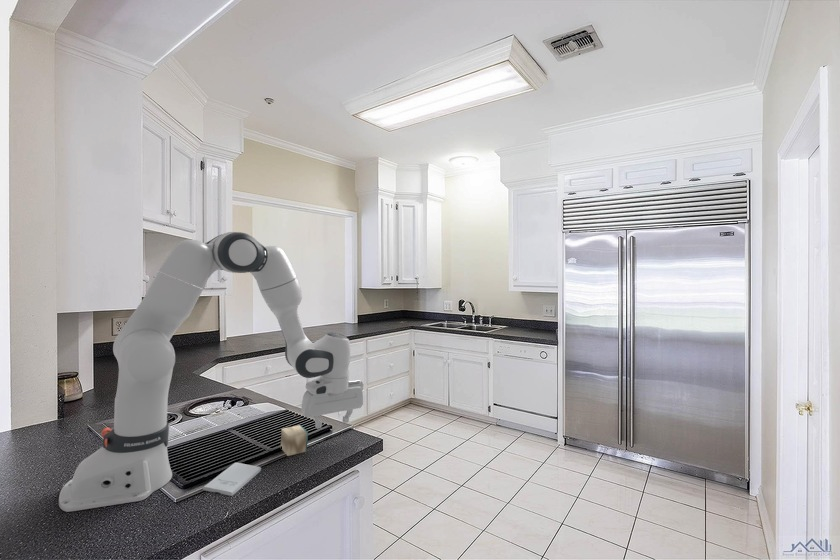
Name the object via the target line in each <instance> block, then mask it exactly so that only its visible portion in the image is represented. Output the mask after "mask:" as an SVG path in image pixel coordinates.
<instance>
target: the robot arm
mask: <svg viewBox="0 0 840 560" xmlns="http://www.w3.org/2000/svg"><path fill="white" fill-rule="evenodd" d="M218 270H221V271H225V272H227V273H233V274H234V273H235V274H246V273H247V274H248V273H250V274H251V275H252V276H253V278H254V279H255V281H256V284H257V287H258V289H259V291H260V294H261V297H262V298H263V300H264V302H265V303H266V305H267V307H268V308H269V310H270V312H272V314H273V315H274V316H275V318H276V319H277V321H278V325H279V328H280V330H281V333H282V335H283V338H284V341H285V347H284V348H285V349H284V351H285V352H284V355H285V360H286V362H287V364H288V365H290V366H291V367H292V368H293V369H294V371H296V373H298V374H299V375H300V376H301V378H302V377H303V378H305V379H312V380H310V381H308V382H306V383H305V389H306V391H305V392H304V394H303V395H302V401H301V408H300V409H301V411H300V412H301V414H302V415H303V416H304V417H306V418H313V420H314V422H315V424H314V426H315V429H321V428H322V427H323V426H322V425H323V423H322V421H321V420H318V419H320V416H322V415H324V416H325V415H328V414H333V413H339V412H345V411H346V412H345V415H343V416H342V423H344V424H347V423H349V422H350V417H351V415H352V414H353V413H354V412H353V411H354V410H356V409H361V408H362V406H363V405H364V394H363V391H364V383H363V381H361V380H359V379H357V380H356V379H355V380H350V371H349V366H350V363H351V342H350V339H349V338H348V337H347V336H345V335H344V334H340V333H336V332H328V333H326V334H325V335H324V336H322V337H321V338H320V339H318V340H316V341H312V340H311V339H310V338H308V337H307V335H306V334H305V331H304V329H303V326H302V323H301V320H300V317H299V314H298V307H299V305H300V304H301V302H302V299H303V295H302V290H301V289H302V288H301V286H300V281H299V279H298V276H297V274H296V271H295V269H294V266H293V265H292V263H291V261H290V260H289V257H288V255H287V254H286V253H285V251H284V249H282V247H279V246H276V245H269V246H268V245H267V246H265V245H263V244H261V243H260V242H259V241H258V240H257V239H256V238H255V237H253V236H252V235H250V234H249V233H245V232H242V231H241V232H240V231H238V232H237V231H229V232H225V233H222V234H219V235H217V236H215V237H213V238H212V239H210V240H209V241H207V242H203V241H201V240H196V239H184V240H181V241H179V242H178V243H177V244H176V246H175V247H174V248H173V249H172V251H171V252H169V254H168V256H167V257H166V259H165V260H164V261H163V263H162V265H160V268H159V269H158V271H157V273H156V275H155V277H154V278H153V281H152V282H151V284H150V286H149V287H148V289H147V291H146V294H145V295H144V297H143V298H142V300H141V302H140V303H139V305H138V306H137V307H136V309H134V311H133V313H132V314H131V315H130V317H129V318H128V319H127V321H126V322H125V324H124V326H123V327H122V329H121V330H120V331H119V333H118V334H117V335H116V337H115V339H114V341H113V344H112V345H113V346H112V351H113V355H114V357H115V359H116V360H117V364H118V377H117V378H118V379H117V385H116V394H115V398H114V411H113V412H114V417H113V419H114V421H113V429H112V428H110V427H105V428H103V429H102V430H101V433H100V434H101V437H102V447H99V449H97V450H96V451H94V452H93V453H91V454H90V455H89V456H87V457H86V458H85V459H83V460H82V461H81V462H80V463H79V464H78V466H77V467H76V469H75V471H74V474H73V476H72V479H70V480H69V481H67V482H66V483H65V484H64V485H63V486H62V488H61V490H60V492H59V495H58V506H59V508H60V509H61V511H64V512H67V513H68V512H70V513H71V512H77V511H83V510H89V509H96V508H101V507H107V506H114V505H122V504H126V503H127V504H129V503H134V502H140V501H143V500H145V499H147V498H148V497H149V496H150V495H151V494H152V493H154V492H156V491H157V490H159V489H160V488H162V487H164V486H165V485H166V484H168V483H169V482H170V480H172V478H173V472H172V469H171V465H170V461H169V454H168V453H169V451H168V445H169V439H170V426H169V423H168V403H169V402H168V400H169V399H168V398H169V392H170V387H171V386H170V385H171V383H172V382H171V381H172V376H173V371H174V367H175V364H176V352H175V349H174V346H173V344H172V343H171V339H172V337H173V336H174V334H175V333H176V332H177V330H178V329H179V328H180V327H181V325H182V324H183V323H184V322H185V321H186V320H187V319H188V318H189V317H190V316H191V314H192V311H193V310H194V308H195V306H196V304H197V302H198V300H199V298H200V296H201V294H202V292H203V290H204V289H205V287H206V284H207V282H208V280H209V279H210V277H211V276H212V275H213V274H214V273H215V272H216V271H218ZM313 378H314V379H313Z"/></svg>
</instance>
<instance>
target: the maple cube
mask: <svg viewBox="0 0 840 560" xmlns="http://www.w3.org/2000/svg"><path fill="white" fill-rule="evenodd" d="M280 435H281V437H280V447H281V446H282V449H281V450H282V452H284V453H286V454H285V455H286V457H289V456H294V455H297V454H302V453H306V452H308V442H309V441H308V437H309V432H308V431H307V430H306V428H305V427H303V426H302V425H301V424H298V425H293V426H289V427H285V428H281V434H280Z"/></svg>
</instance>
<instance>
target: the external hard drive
mask: <svg viewBox="0 0 840 560" xmlns="http://www.w3.org/2000/svg"><path fill="white" fill-rule="evenodd" d="M261 471H262V467H260V466H258V465H251V464H245V463H241V462H234V463H232V464H231V465H230V466H229V467H227V468H225V470H223V471H222V472H221V473H220V474H218V475H217V476H216V477H214V478H213V479H212V480H210V481H209V482H208V483H207V484H205V485H204V486H203V488H202V490H203V491H207V492H212V493H217V494H219V495H220V494H221V495H225V496H229V497H230V496H231V497H233V496H234V495H235V494H236V493H237V492H238V491H239V490H240V491H241V489H242V488H244V487H245V485H246V484H248V483H249V482H250V481H251V480H252V479H254V477H256V476H257V475H258V474H259V473H260V472H261Z"/></svg>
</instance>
